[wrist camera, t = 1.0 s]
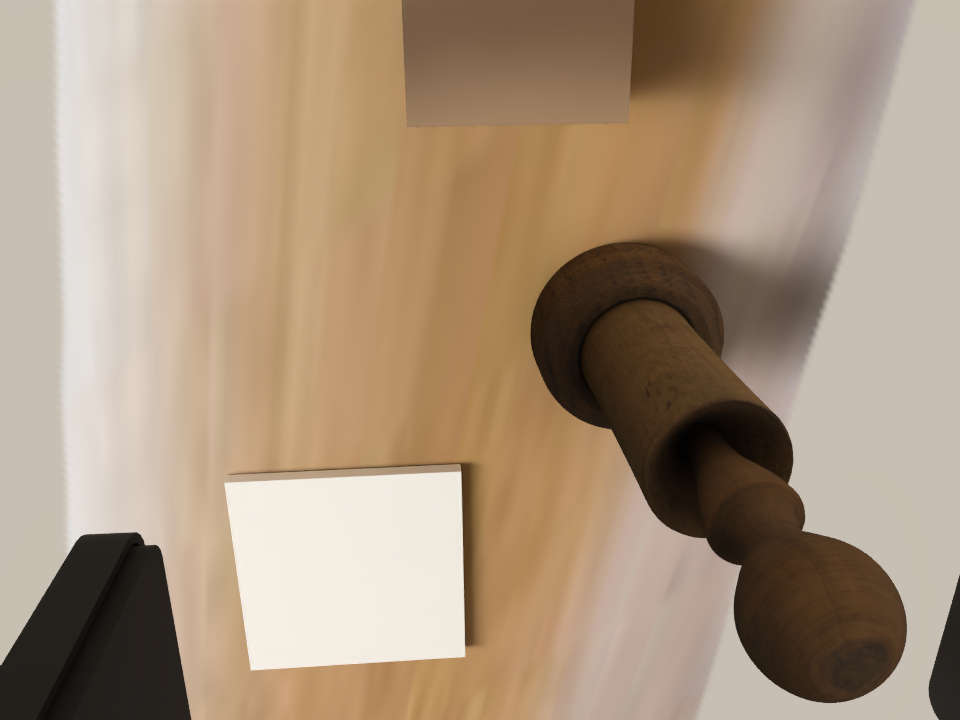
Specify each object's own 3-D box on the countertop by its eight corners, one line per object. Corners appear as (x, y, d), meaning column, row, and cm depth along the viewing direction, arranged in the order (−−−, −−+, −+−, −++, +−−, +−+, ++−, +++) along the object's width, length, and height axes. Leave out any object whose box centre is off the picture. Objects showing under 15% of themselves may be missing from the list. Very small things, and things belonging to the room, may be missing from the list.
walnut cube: (399, -97, 26) (395, -131, 20) (592, -97, 26) (641, -130, 21) (407, 107, 28) (407, 127, 22) (585, 103, 28) (628, 122, 23)
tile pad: (227, 475, 32) (224, 482, 32) (460, 463, 33) (461, 471, 32) (253, 660, 36) (250, 670, 35) (464, 647, 36) (465, 656, 36)
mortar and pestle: (671, 210, 30) (1002, 445, 13) (727, 361, 32) (1067, 722, 16) (502, 288, 30) (613, 608, 14) (569, 431, 33) (733, 851, 16)
